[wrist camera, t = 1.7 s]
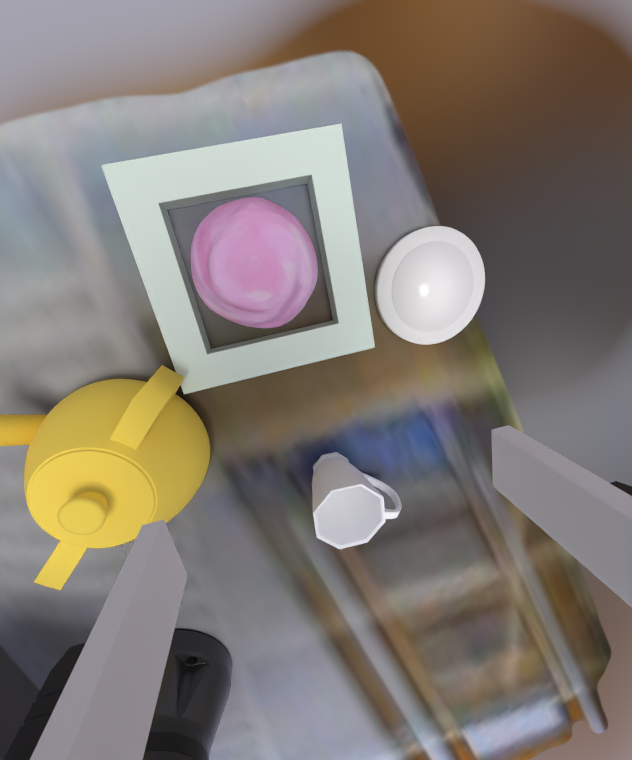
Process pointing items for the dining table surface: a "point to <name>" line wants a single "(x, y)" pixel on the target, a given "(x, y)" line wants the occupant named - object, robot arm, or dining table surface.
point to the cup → (348, 502)
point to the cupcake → (253, 263)
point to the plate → (429, 285)
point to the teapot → (108, 464)
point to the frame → (228, 180)
